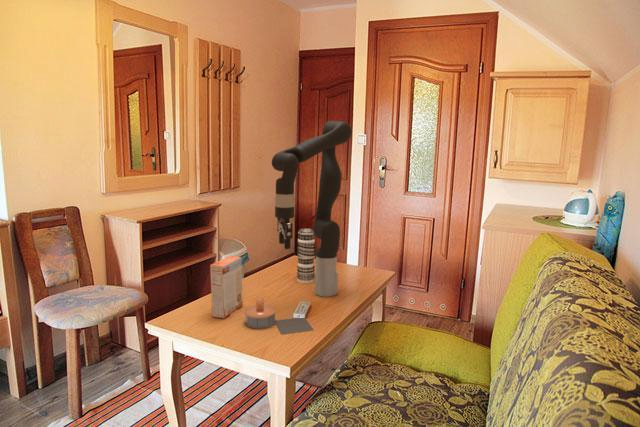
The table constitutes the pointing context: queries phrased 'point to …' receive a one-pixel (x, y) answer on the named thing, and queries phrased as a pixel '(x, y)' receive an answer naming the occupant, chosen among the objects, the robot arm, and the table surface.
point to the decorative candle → (305, 256)
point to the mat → (293, 325)
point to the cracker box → (226, 286)
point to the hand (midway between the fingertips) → (284, 246)
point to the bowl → (260, 322)
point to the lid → (260, 310)
